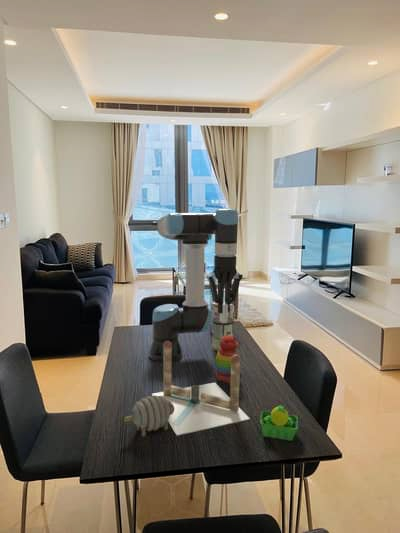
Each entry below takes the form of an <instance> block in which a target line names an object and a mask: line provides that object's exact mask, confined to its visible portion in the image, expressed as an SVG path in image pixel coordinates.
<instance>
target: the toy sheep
mask: <svg viewBox="0 0 400 533" xmlns="http://www.w3.org/2000/svg"><path fill="white" fill-rule="evenodd" d="M173 412H174V406H173V404H172V403H171V402H169V401H167V400H166V399H165V398H164V397H163V396H156V395H154V396H152V395H148V396H146V397H143V398H141V399H140V400H139V401H136V402H135V403H134V406H133V407H132V410H131V415H128V416H125V417H124V418H123V420H124V422H125V423H128V422H131V421H132V422H133V423H134V424H135V426H136V430H137V431H140V430H141V437H143V438H145V437H146V434H147V432H151V431H158V430H159V428H163V429H164V430H165V431H168V429H169V422H168V419H169V417H170V415H171V414H173ZM146 431H147V432H146Z"/></svg>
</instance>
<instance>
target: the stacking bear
mask: <svg viewBox="0 0 400 533" xmlns="http://www.w3.org/2000/svg"><path fill="white" fill-rule="evenodd" d="M238 346H239V342H238V341H237V340H236V338H234V336H233V337H232V336H228V334H226V336H224V337H222V338H221V340H220V347H221V349H220V350H219V351H217V354H216V357H215V368H216V374H215V378H216V380H218V381H220V382H223V383H227V384H231V357H232V356H233V355H234V354H237V355H238V351H237V348H238ZM241 375H242V374H241V371H240V376H241Z"/></svg>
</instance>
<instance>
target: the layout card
mask: <svg viewBox="0 0 400 533" xmlns="http://www.w3.org/2000/svg"><path fill="white" fill-rule="evenodd" d="M197 385H198V386H199V402H198V403H192V402H191V386H188V387H184V388H185V389H189V390H190V398H189V399H187V398H183V397H179V396H175V395H170V396H164V395H163V391H159V392H154V393H153V392H152V393H151V396H154V395H156V396H163V397H164V398H165V399H166V400H167V401H169V402H171V403H172V404H173V406H174V412H173V414H171V415H170V417H169V419H168V425H169V426H170V427H171V429H172V431H173V432H174V434H175V435H176V437H179V436H181V435H186V434H191V433H196V432H199V431H200V432H201V431H205V430H209V429H213V428H218V427H223V426H226V425H227V426H228V425H231V424H237V423H240V422H245V421H249V420H251V419H250V417H249V416H248V414H246V413H245V412H244V411H243V410H242V409H241V408H240V407H238V411H237V412H231V411H230V409H225V408H221V407H218V406H214V405H210V404H206V403H202V402H201V394H202V393H205V394H209V395H213V396H217V397H221V398H225V399H229V400H230V395H228V394H226V392H225V391H224V390H223V389H222V388H221V387H220V386H219V384H217V383H216V382H211V383H204V384H197Z"/></svg>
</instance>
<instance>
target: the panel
mask: <svg viewBox="0 0 400 533" xmlns="http://www.w3.org/2000/svg"><path fill="white" fill-rule="evenodd" d="M241 361H242V358H241V356H240V355H239V354H238V353H237V354H234V355H233V356H232V357H231V383H230V385H229V386H230V387H229V388H230V392H229V393H230V395H229V397H230V400H229V399H225V398H221V397H217V396H213V395H209V394H205V393H202V394H201V402H202V403H206V404H210V405H214V406H218V407H221V408H225V409H230V411H231V412H237V411H238V407H239V404H240V402H239V401H240V378H241V375H240V372H241ZM239 408H240V407H239Z"/></svg>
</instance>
